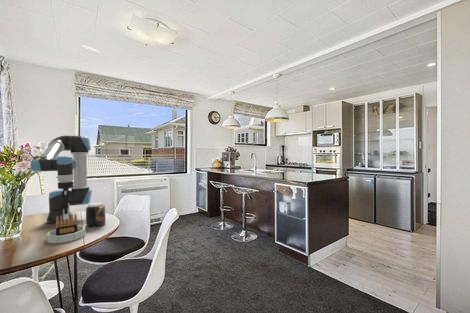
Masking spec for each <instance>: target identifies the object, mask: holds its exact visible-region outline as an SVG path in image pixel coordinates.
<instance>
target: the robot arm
mask: <svg viewBox="0 0 470 313" xmlns="http://www.w3.org/2000/svg"><path fill="white" fill-rule="evenodd" d="M91 150H92V148H91V141H90V138H89V137H88V136H87V135H61V136H58V137H55V138H54V139H52V140H51V141H50V142H49V143H48V145H47V148H46V149H45V151H44V152H45V153H44V152H43V153H42V155H41V157H39V158H35V159H32V160H31V161H30V169H31V171H32V172H37V173H38V172H39V173H40V172H57V176H56V179H57V190H53V191H51V192H49V193H48V209H49V210H48V211H49V212H48V215H47V217H46V224H56V218H57V216H58V218H59V224H60V216H62V220H63V221H64V220H65V219H66V221H67V219H69V217H70V221H71V214H72V213H71V210H70V209H71V208H70V207H71V206H73V207H74V206H83V205H89V204H90V202H91V199H92V189H91V188H90V186H89V185H88V177H87V176H88V174H87V173H88V172H87V170H88V168H87V166H88V165H87V164H88V163H87V155H88V154H89V151H91ZM63 151H64V152H65V151H68V152H69V151H70V154H71V155H72V156H71V155H60V154H61V153H62V152H63ZM59 155H60V156H59ZM69 189H70V190H69Z"/></svg>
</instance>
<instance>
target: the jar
mask: <svg viewBox="0 0 470 313" xmlns="http://www.w3.org/2000/svg"><path fill="white" fill-rule="evenodd" d="M105 206H106V205H103V202H92V203H88V206H87V207H86V208H85V228H86V227H87V228H97V227H98V226H99V227H102V226H105V225H106V224H107V223H106V222H107V221H106V207H105ZM104 224H105V225H104Z"/></svg>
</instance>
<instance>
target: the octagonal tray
mask: <svg viewBox="0 0 470 313" xmlns="http://www.w3.org/2000/svg"><path fill="white" fill-rule="evenodd" d="M77 227H78V232H75V233H72V234H66V235H60V236H56V228H55V229H53V230H51V231H48V232H47V233H46V242H47V243H48V244H64V243H69V242H72V241H76V240H79V239H82V238H83V237H85V236H86V234H87V230H86V225H77ZM70 231H71V227H70Z"/></svg>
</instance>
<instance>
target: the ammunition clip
mask: <svg viewBox="0 0 470 313" xmlns="http://www.w3.org/2000/svg"><path fill="white" fill-rule="evenodd" d="M77 216H78V215H77V213H74V215H73V213H71V220H70V217H69V219H67V221H66V219H65V220H64V221H63V220H62V216H60V223H59V218H58V216H57V218H56V223H55V229H56V236H60V235H66V234H72V233H75V232H78V227H77V226H78V218H77ZM70 227H71V231H70Z"/></svg>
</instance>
